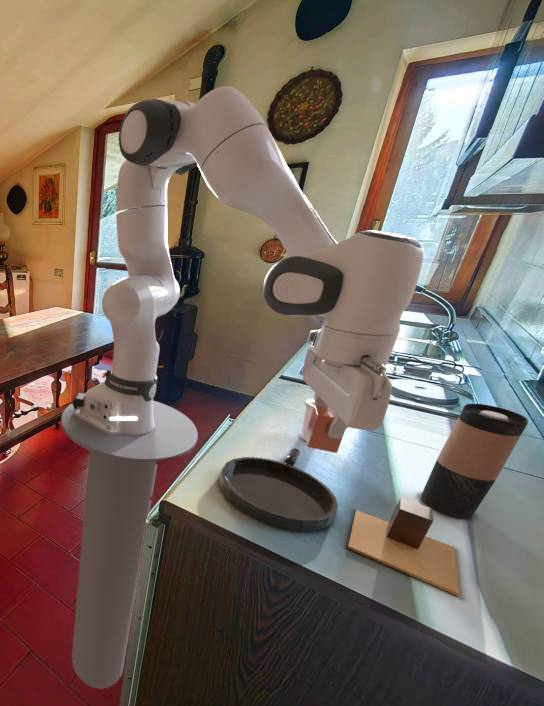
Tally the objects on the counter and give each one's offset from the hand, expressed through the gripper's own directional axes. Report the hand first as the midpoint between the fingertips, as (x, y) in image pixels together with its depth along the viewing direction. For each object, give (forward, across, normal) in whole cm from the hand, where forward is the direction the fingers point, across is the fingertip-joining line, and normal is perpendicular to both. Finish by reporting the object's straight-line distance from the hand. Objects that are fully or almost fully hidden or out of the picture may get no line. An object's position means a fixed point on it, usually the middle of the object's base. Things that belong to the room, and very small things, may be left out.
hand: (325, 427), depth 64 cm
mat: (+19, -3, -14) cm, 24 cm away
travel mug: (+19, +12, -29) cm, 37 cm away
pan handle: (+18, +18, -4) cm, 26 cm away
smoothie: (+19, +33, -12) cm, 40 cm away
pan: (+18, +6, +2) cm, 20 cm away
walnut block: (+18, 0, -16) cm, 24 cm away
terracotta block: (+3, 0, 0) cm, 3 cm away
